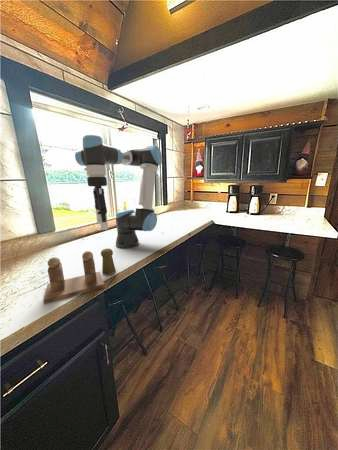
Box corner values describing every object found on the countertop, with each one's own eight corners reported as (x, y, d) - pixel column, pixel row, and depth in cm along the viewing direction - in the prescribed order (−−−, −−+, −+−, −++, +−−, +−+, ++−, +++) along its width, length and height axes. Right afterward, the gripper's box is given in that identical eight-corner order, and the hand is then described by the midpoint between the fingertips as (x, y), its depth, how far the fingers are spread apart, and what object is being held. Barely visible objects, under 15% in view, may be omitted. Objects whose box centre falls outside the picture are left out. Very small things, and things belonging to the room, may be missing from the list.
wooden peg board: (100, 274, 82) (96, 245, 79) (104, 287, 72) (100, 254, 69) (48, 287, 73) (41, 254, 70) (44, 303, 63) (36, 266, 60)
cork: (118, 271, 85) (116, 248, 83) (106, 276, 81) (103, 252, 78) (111, 267, 89) (109, 246, 86) (99, 272, 85) (96, 249, 82)
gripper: (85, 177, 84) (91, 222, 89) (88, 175, 63) (96, 234, 67) (102, 177, 88) (106, 220, 92) (111, 174, 66) (116, 231, 71)
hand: (102, 226), depth 80 cm, fingers open, 13 cm apart
